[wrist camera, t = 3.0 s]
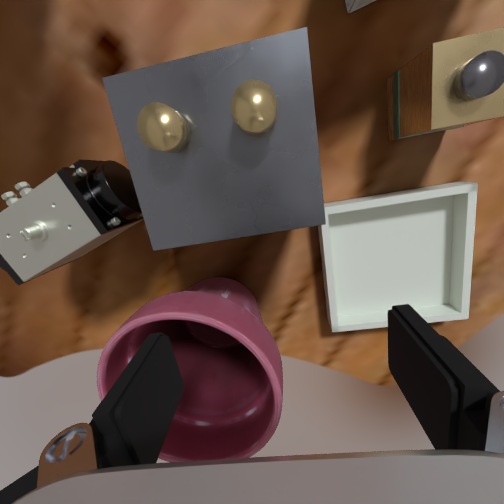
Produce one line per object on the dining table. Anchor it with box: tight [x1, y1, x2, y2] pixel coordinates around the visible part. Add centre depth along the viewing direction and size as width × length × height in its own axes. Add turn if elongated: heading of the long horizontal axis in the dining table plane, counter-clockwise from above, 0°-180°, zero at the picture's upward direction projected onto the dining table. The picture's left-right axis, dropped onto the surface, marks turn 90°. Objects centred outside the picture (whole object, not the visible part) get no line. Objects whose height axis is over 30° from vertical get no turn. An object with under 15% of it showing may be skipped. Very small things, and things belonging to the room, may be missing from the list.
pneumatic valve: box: [0, 160, 144, 285], centre depth 23 cm, size 6×12×12 cm, turn 119°
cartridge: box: [387, 27, 504, 141], centre depth 19 cm, size 5×5×8 cm
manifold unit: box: [102, 27, 326, 251], centre depth 19 cm, size 9×10×15 cm
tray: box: [318, 182, 478, 332], centre depth 26 cm, size 13×13×2 cm
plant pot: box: [97, 277, 283, 462], centre depth 25 cm, size 14×14×13 cm
